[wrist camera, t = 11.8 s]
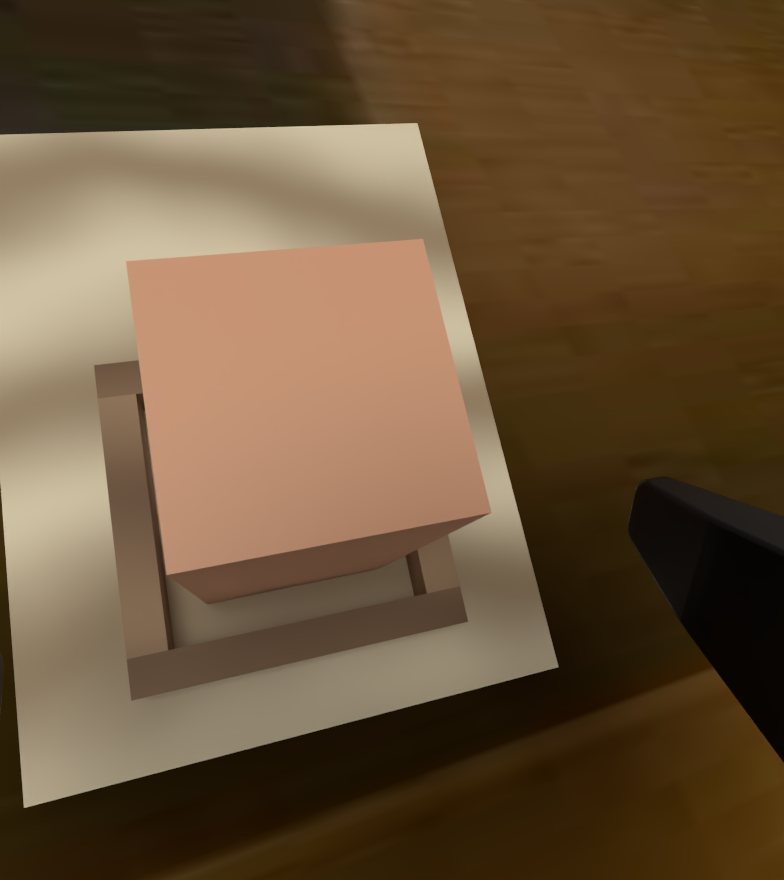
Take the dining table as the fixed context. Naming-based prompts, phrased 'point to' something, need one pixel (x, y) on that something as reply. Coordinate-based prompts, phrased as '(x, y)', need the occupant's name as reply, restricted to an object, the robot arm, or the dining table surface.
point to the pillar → (300, 414)
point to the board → (132, 480)
